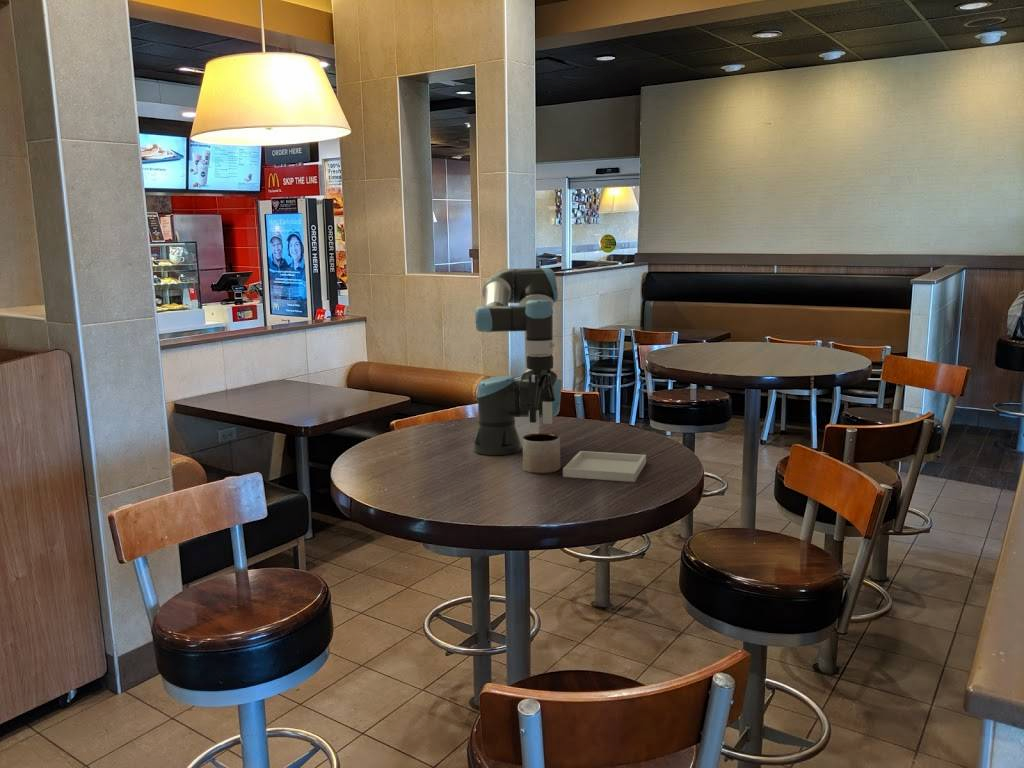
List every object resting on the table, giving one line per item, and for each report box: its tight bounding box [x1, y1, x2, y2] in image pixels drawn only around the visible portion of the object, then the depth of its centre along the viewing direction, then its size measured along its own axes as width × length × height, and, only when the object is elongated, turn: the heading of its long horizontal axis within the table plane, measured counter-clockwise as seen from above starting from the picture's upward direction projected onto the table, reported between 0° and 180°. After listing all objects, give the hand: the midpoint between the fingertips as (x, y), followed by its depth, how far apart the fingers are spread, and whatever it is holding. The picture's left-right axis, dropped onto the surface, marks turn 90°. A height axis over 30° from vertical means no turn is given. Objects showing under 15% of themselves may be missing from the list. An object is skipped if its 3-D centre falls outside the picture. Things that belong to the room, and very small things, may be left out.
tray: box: [562, 450, 647, 483], centre depth 225 cm, size 20×20×2 cm
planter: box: [522, 432, 561, 475], centre depth 226 cm, size 11×11×10 cm
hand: (541, 428), depth 225 cm, fingers open, 13 cm apart
